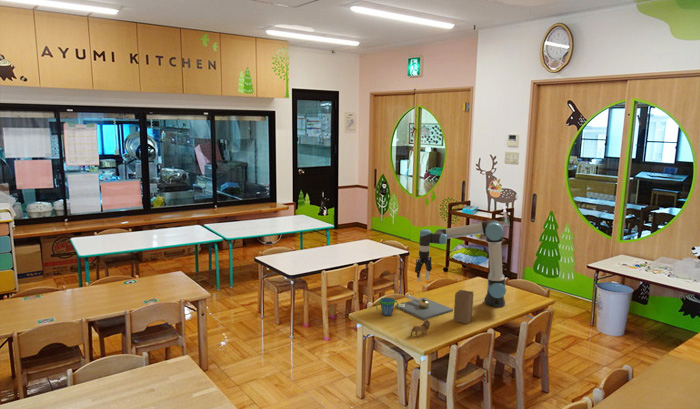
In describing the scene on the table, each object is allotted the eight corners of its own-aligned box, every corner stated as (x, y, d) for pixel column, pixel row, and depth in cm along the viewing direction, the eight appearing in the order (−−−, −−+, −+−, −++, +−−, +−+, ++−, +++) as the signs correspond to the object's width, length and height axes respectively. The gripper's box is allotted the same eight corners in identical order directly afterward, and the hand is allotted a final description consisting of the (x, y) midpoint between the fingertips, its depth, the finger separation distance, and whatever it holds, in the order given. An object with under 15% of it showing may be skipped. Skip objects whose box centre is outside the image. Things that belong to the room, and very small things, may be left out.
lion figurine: (426, 331, 316) (426, 318, 314) (431, 334, 311) (432, 320, 310) (407, 335, 309) (408, 322, 307) (413, 339, 304) (413, 325, 303)
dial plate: (452, 311, 351) (452, 308, 351) (422, 320, 333) (422, 318, 333) (422, 298, 375) (422, 296, 375) (393, 306, 357) (393, 304, 357)
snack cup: (376, 316, 338) (376, 302, 337) (375, 310, 349) (376, 297, 347) (398, 317, 338) (399, 302, 337) (397, 311, 349) (398, 297, 347)
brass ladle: (430, 307, 353) (431, 299, 352) (423, 309, 349) (424, 301, 348) (410, 298, 370) (410, 291, 369) (403, 300, 366) (403, 293, 365)
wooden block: (467, 324, 328) (469, 296, 324) (453, 321, 333) (454, 293, 330) (472, 319, 336) (474, 291, 333) (458, 316, 341) (459, 289, 338)
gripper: (430, 247, 369) (429, 276, 373) (410, 251, 357) (409, 281, 361) (437, 249, 363) (436, 279, 367) (417, 253, 351) (416, 284, 355)
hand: (422, 280), depth 364 cm, fingers open, 8 cm apart
